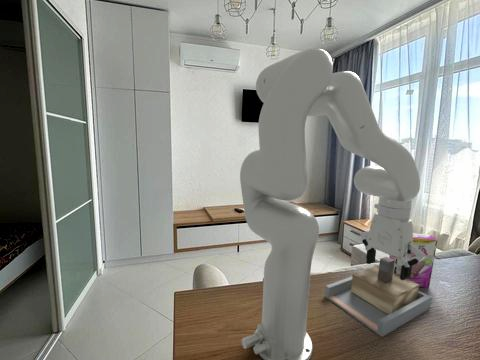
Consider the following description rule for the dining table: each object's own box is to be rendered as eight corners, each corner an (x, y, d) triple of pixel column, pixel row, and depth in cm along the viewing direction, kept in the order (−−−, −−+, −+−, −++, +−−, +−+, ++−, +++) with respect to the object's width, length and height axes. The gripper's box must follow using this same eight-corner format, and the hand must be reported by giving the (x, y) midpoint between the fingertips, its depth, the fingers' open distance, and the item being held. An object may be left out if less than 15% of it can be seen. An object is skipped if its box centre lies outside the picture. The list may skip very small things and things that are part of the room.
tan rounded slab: (391, 316, 64) (397, 274, 62) (350, 291, 74) (354, 255, 73) (416, 302, 70) (422, 264, 68) (375, 281, 80) (379, 247, 78)
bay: (381, 336, 58) (383, 323, 58) (325, 296, 73) (326, 285, 72) (429, 308, 69) (431, 296, 68) (371, 278, 83) (373, 268, 83)
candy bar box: (393, 286, 79) (399, 236, 77) (385, 277, 84) (391, 231, 82) (430, 289, 78) (438, 239, 76) (420, 280, 83) (428, 233, 81)
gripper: (356, 205, 74) (351, 260, 77) (421, 223, 59) (412, 290, 62) (372, 203, 77) (366, 255, 80) (437, 219, 63) (427, 282, 65)
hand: (386, 270), depth 71 cm, fingers open, 9 cm apart
